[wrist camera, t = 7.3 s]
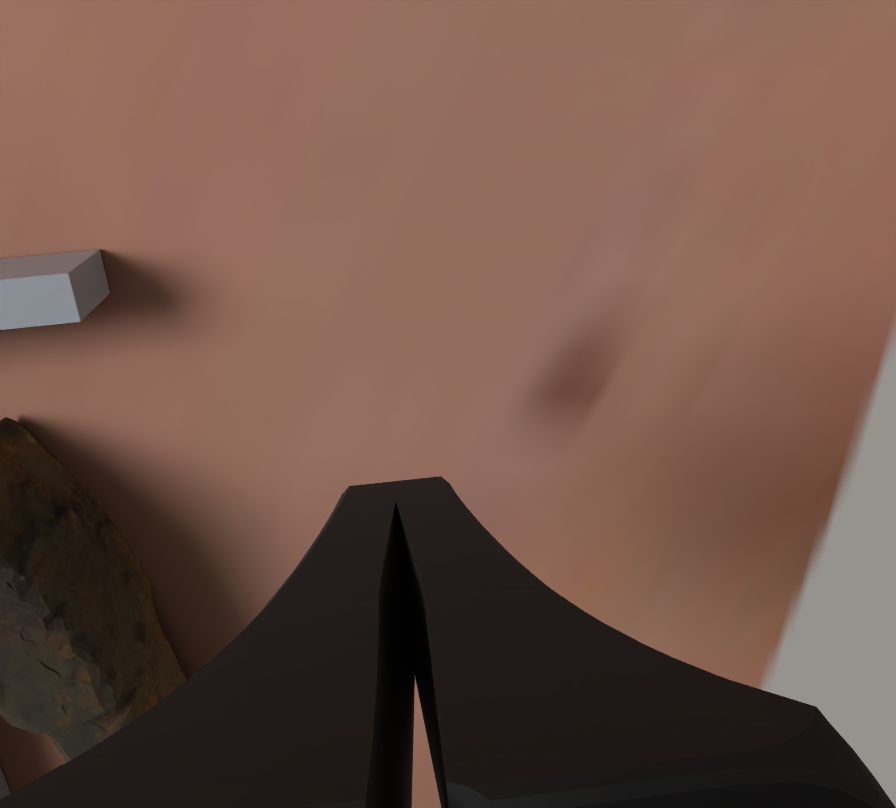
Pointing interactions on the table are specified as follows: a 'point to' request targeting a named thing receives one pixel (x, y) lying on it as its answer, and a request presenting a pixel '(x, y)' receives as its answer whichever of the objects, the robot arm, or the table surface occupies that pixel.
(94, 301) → the box
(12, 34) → the table surface
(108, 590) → the brown rough log
